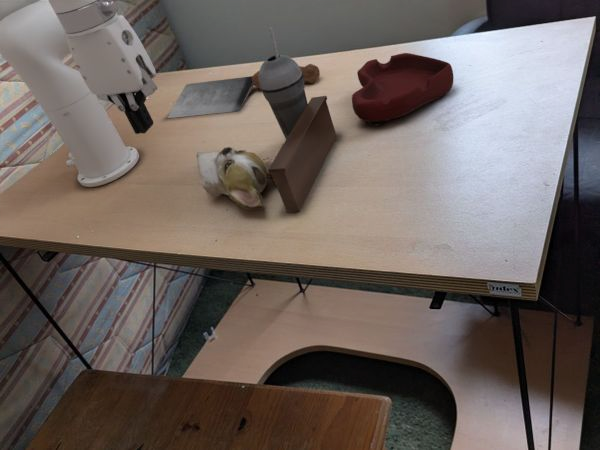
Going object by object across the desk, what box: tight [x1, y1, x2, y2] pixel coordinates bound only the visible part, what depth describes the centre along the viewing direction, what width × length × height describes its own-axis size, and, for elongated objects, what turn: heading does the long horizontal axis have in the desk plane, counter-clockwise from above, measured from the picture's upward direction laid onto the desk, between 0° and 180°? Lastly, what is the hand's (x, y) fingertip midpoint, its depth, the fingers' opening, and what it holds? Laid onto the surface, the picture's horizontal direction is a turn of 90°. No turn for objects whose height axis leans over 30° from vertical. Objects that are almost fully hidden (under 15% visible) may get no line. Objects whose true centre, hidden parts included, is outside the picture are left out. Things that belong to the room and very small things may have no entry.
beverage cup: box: [258, 27, 309, 140], centre depth 89 cm, size 7×7×20 cm
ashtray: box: [351, 52, 455, 126], centre depth 94 cm, size 18×16×5 cm
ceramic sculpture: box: [196, 146, 274, 211], centre depth 85 cm, size 11×9×15 cm
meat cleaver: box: [167, 63, 321, 119], centre depth 117 cm, size 34×11×4 cm, turn 69°
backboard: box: [268, 95, 338, 213], centre depth 84 cm, size 3×20×8 cm, turn 161°
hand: (145, 128), depth 88 cm, fingers closed
